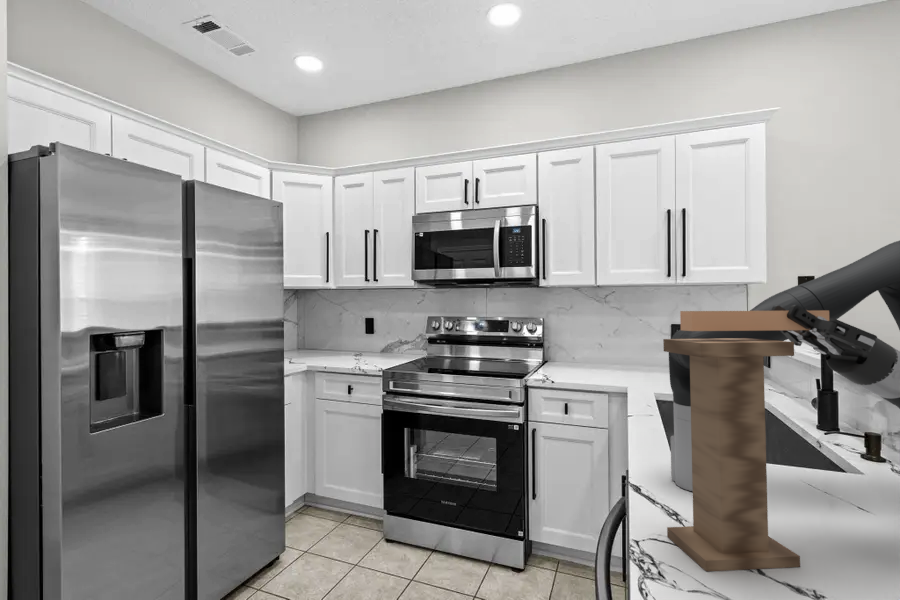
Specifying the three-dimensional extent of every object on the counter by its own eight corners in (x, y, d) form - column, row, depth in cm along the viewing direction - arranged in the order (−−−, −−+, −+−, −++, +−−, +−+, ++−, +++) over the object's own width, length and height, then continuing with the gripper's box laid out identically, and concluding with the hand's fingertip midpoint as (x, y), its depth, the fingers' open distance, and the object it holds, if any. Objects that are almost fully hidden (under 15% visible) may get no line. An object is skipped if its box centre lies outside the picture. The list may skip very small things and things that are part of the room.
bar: (812, 329, 73) (812, 310, 73) (829, 330, 70) (829, 310, 70) (680, 330, 72) (680, 311, 72) (692, 331, 69) (691, 311, 69)
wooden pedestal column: (749, 533, 75) (744, 338, 76) (800, 566, 65) (793, 341, 66) (667, 536, 74) (663, 339, 75) (706, 571, 64) (700, 343, 65)
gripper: (842, 341, 79) (758, 291, 79) (932, 347, 65) (832, 287, 65) (822, 379, 79) (738, 329, 78) (909, 393, 65) (808, 333, 64)
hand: (781, 310), depth 71 cm, fingers closed on bar, 3 cm apart
